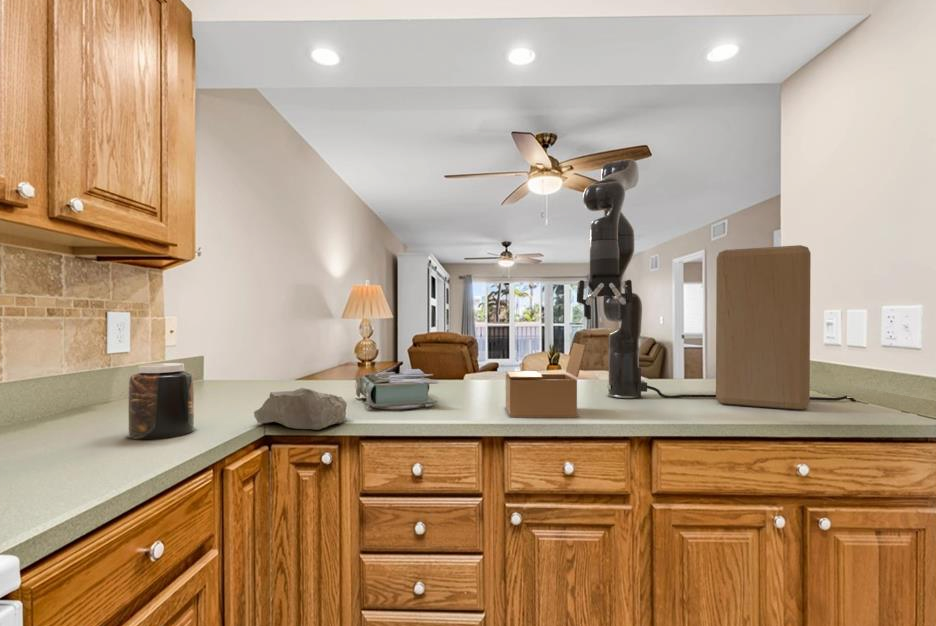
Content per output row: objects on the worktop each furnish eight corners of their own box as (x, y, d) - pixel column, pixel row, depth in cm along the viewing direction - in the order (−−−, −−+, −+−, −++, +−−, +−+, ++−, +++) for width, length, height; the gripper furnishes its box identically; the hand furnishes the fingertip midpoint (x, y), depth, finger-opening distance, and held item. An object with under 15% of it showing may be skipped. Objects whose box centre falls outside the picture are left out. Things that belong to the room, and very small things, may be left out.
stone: (239, 431, 108) (321, 434, 104) (238, 388, 108) (320, 389, 104) (285, 415, 126) (356, 417, 122) (284, 378, 126) (356, 379, 122)
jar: (165, 441, 99) (164, 367, 98) (115, 438, 101) (114, 366, 100) (205, 428, 110) (204, 362, 110) (159, 426, 112) (159, 362, 112)
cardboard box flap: (565, 371, 136) (567, 371, 136) (576, 376, 123) (577, 377, 123) (573, 342, 136) (574, 343, 136) (584, 345, 123) (586, 345, 123)
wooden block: (810, 412, 129) (811, 243, 128) (715, 405, 140) (716, 249, 140) (801, 400, 148) (802, 253, 148) (718, 394, 160) (719, 258, 159)
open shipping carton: (566, 407, 136) (566, 371, 136) (576, 417, 123) (577, 376, 123) (505, 407, 136) (505, 371, 136) (510, 417, 123) (510, 376, 123)
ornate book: (353, 400, 154) (366, 413, 126) (353, 369, 155) (366, 376, 126) (422, 396, 162) (449, 408, 134) (421, 367, 162) (448, 373, 134)
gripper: (626, 259, 133) (626, 319, 133) (574, 260, 133) (574, 319, 133) (635, 256, 125) (636, 319, 125) (580, 257, 125) (581, 319, 125)
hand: (604, 319), depth 129 cm, fingers open, 8 cm apart
